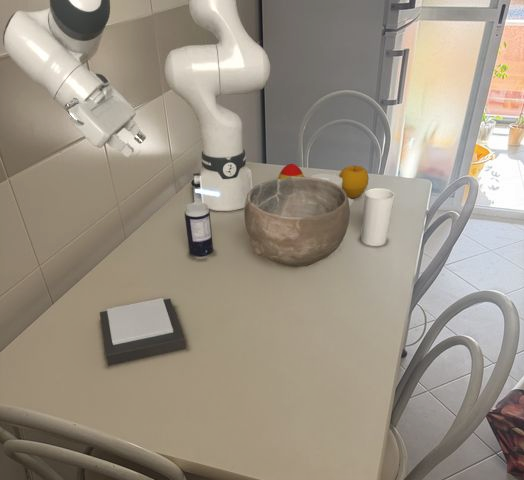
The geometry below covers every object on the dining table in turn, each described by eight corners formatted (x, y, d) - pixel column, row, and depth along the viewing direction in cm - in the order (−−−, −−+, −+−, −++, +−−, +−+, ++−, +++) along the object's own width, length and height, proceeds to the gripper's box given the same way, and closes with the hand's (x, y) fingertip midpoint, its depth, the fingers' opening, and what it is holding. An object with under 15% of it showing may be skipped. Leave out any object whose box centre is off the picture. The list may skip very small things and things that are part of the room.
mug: (383, 248, 119) (391, 201, 111) (356, 244, 121) (362, 197, 113) (392, 231, 126) (399, 185, 118) (366, 227, 128) (372, 181, 120)
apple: (348, 205, 138) (351, 174, 133) (330, 195, 144) (333, 164, 138) (372, 198, 141) (376, 168, 136) (354, 189, 147) (357, 159, 142)
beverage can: (217, 250, 119) (213, 203, 112) (207, 261, 115) (202, 213, 108) (195, 247, 121) (190, 200, 113) (185, 258, 117) (179, 210, 109)
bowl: (227, 270, 112) (223, 207, 103) (266, 225, 129) (265, 168, 120) (330, 289, 105) (335, 224, 95) (356, 240, 122) (363, 180, 113)
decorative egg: (296, 206, 138) (297, 171, 132) (271, 201, 141) (271, 166, 135) (309, 196, 143) (311, 162, 137) (285, 191, 147) (286, 157, 140)
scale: (102, 321, 98) (98, 308, 96) (171, 308, 101) (169, 295, 99) (108, 365, 87) (104, 352, 85) (185, 348, 91) (183, 335, 89)
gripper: (70, 92, 88) (132, 151, 93) (106, 73, 104) (158, 123, 109) (52, 119, 91) (113, 174, 96) (90, 96, 107) (141, 144, 112)
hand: (137, 147), depth 103 cm, fingers open, 8 cm apart
